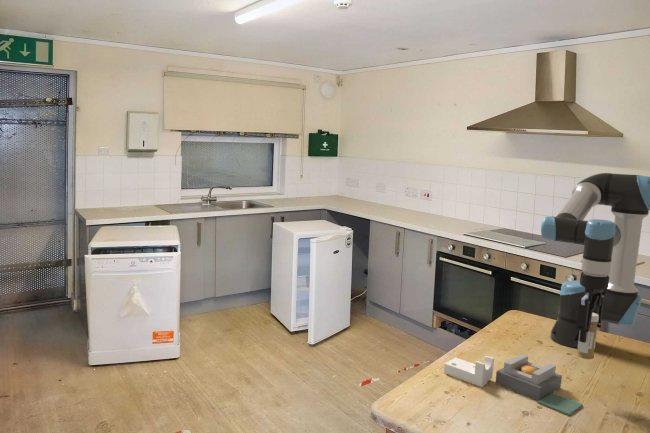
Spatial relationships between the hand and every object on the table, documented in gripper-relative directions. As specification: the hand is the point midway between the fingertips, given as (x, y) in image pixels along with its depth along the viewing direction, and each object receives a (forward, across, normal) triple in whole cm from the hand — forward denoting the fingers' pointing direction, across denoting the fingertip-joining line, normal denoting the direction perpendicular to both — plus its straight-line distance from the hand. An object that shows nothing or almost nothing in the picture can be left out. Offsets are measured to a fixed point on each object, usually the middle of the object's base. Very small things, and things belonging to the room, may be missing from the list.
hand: (586, 349), depth 161 cm
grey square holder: (+14, +8, -13) cm, 21 cm away
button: (+12, +8, -13) cm, 19 cm away
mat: (+14, +12, -1) cm, 18 cm away
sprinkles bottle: (+2, 0, 0) cm, 2 cm away
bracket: (+14, +18, -28) cm, 36 cm away
